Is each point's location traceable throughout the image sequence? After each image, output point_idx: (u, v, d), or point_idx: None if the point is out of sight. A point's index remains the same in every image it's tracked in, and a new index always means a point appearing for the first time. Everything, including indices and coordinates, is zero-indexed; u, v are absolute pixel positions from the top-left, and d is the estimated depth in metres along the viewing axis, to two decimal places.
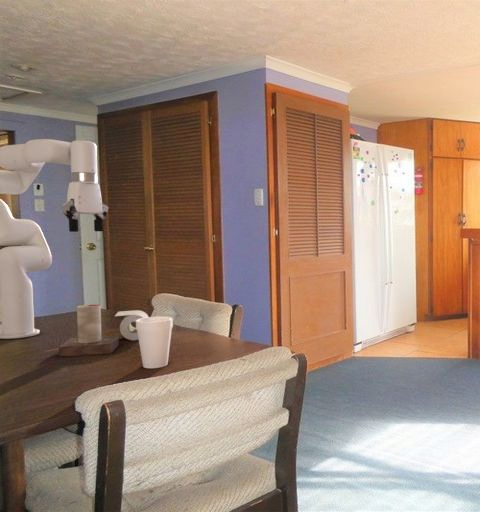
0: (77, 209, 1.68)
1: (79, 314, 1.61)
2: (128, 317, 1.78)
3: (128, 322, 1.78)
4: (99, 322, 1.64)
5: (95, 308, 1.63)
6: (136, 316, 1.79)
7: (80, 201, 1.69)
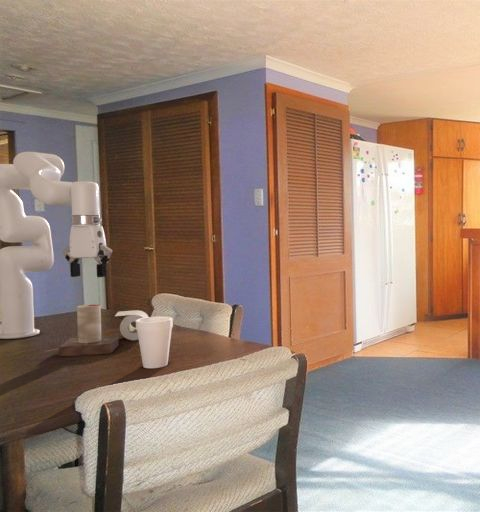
0: (70, 254, 1.63)
1: (79, 314, 1.61)
2: (128, 317, 1.78)
3: (128, 322, 1.78)
4: (99, 322, 1.64)
5: (95, 308, 1.63)
6: (136, 316, 1.79)
7: (71, 245, 1.62)
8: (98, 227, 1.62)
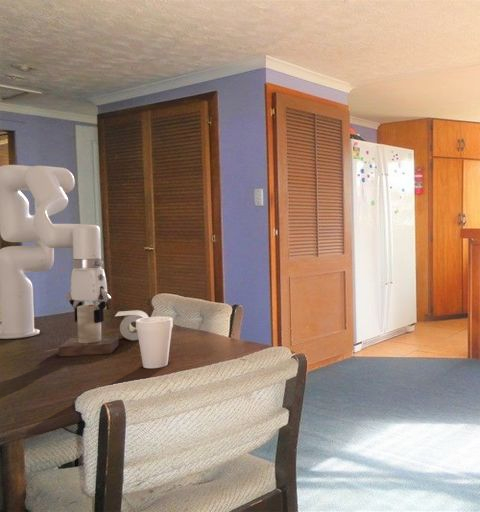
0: (71, 296, 1.63)
1: (79, 314, 1.61)
2: (128, 317, 1.78)
3: (128, 322, 1.78)
4: (99, 322, 1.64)
5: None
6: (136, 316, 1.79)
7: (72, 288, 1.63)
8: (99, 270, 1.62)
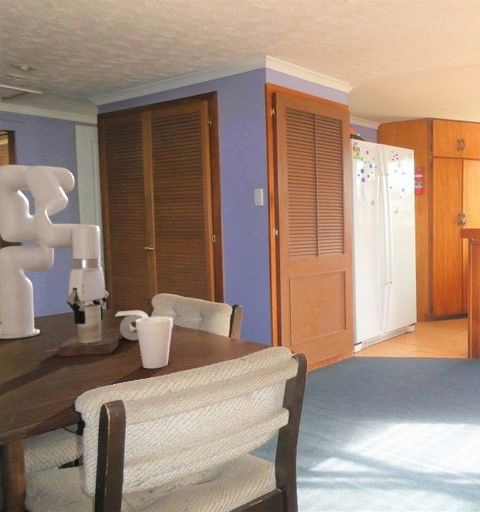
0: (80, 298, 1.59)
1: (96, 313, 1.63)
2: (128, 317, 1.78)
3: (128, 322, 1.78)
4: None
5: None
6: (136, 316, 1.79)
7: (83, 290, 1.59)
8: None
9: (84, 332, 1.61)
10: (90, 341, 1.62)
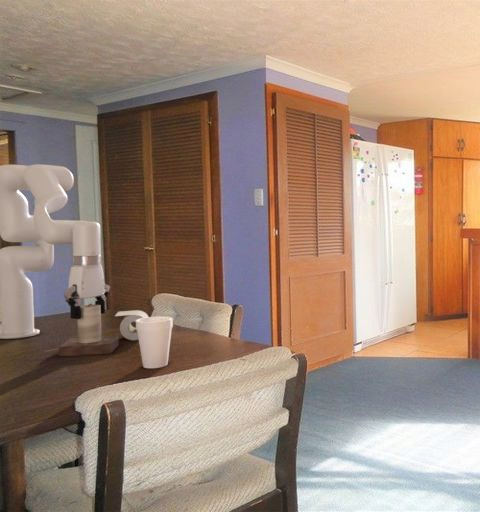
0: (80, 295, 1.59)
1: (96, 313, 1.63)
2: (128, 317, 1.78)
3: (128, 322, 1.78)
4: None
5: None
6: (136, 316, 1.79)
7: (83, 287, 1.60)
8: None
9: (84, 332, 1.61)
10: (90, 341, 1.62)
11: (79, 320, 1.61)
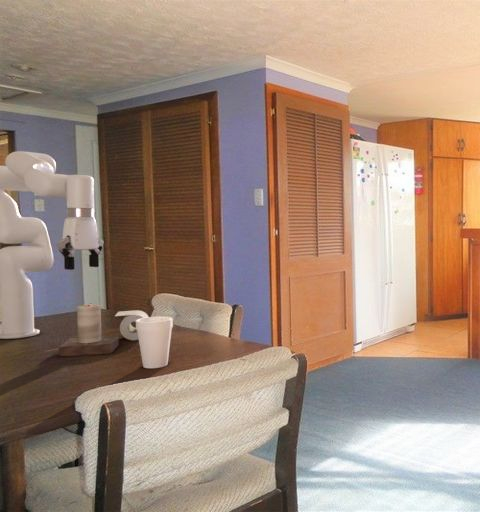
0: (73, 246, 1.62)
1: (96, 313, 1.63)
2: (128, 317, 1.78)
3: (128, 322, 1.78)
4: None
5: None
6: (136, 316, 1.79)
7: (77, 238, 1.63)
8: None
9: (84, 332, 1.61)
10: (90, 341, 1.62)
11: (79, 320, 1.61)
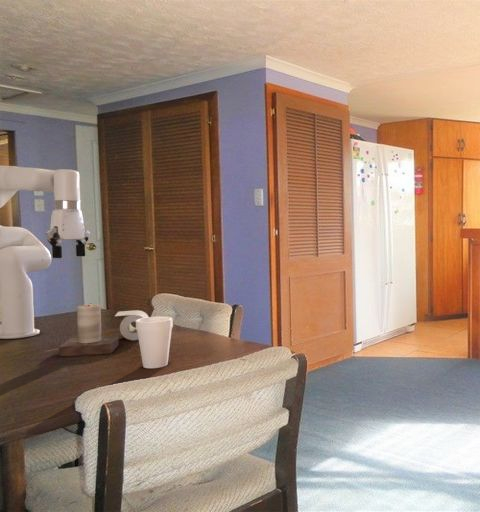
0: (61, 236, 1.73)
1: (96, 313, 1.63)
2: (128, 317, 1.78)
3: (128, 322, 1.78)
4: None
5: None
6: (136, 316, 1.79)
7: (64, 228, 1.74)
8: None
9: (84, 332, 1.61)
10: (90, 341, 1.62)
11: (79, 320, 1.61)
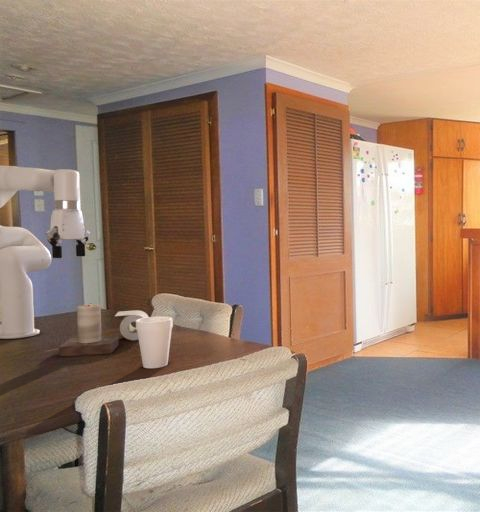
0: (61, 236, 1.73)
1: (96, 313, 1.63)
2: (128, 317, 1.78)
3: (128, 322, 1.78)
4: None
5: None
6: (136, 316, 1.79)
7: (64, 228, 1.74)
8: None
9: (84, 332, 1.61)
10: (90, 341, 1.62)
11: (79, 320, 1.61)
